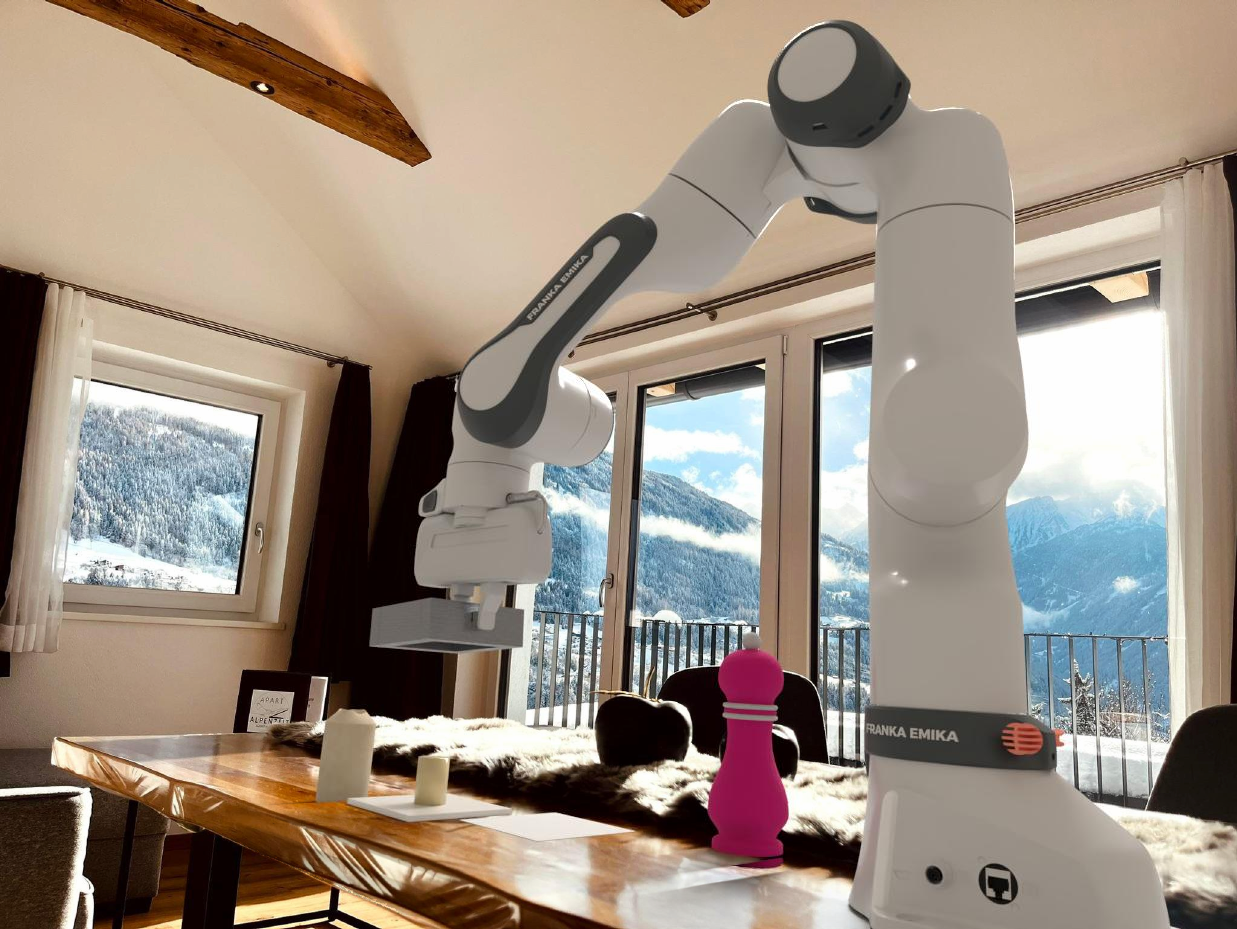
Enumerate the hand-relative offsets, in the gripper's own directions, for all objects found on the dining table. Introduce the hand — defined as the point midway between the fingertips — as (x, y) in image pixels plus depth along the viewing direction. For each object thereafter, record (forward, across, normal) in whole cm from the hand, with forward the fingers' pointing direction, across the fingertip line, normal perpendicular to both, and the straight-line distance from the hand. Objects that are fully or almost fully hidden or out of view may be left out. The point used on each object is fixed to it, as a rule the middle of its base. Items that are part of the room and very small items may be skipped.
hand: (473, 629), depth 92 cm
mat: (+19, -8, -5) cm, 21 cm away
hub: (+19, +5, 0) cm, 20 cm away
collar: (+2, +5, 0) cm, 5 cm away
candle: (+19, +18, +3) cm, 26 cm away
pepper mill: (+19, -25, -14) cm, 35 cm away
